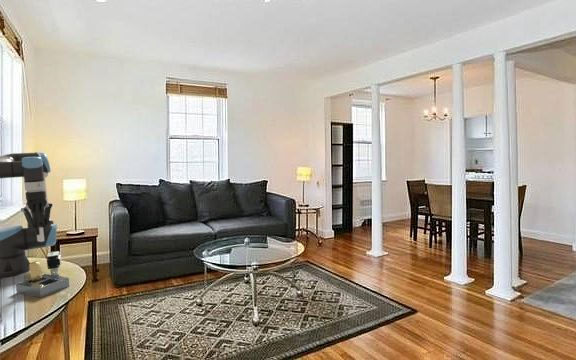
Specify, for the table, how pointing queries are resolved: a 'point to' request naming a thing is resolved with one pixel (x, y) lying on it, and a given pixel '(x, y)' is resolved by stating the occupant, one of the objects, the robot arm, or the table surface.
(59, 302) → the table surface
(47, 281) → the jig
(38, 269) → the tan rectangular block
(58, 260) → the pneumatic valve
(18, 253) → the robot arm
